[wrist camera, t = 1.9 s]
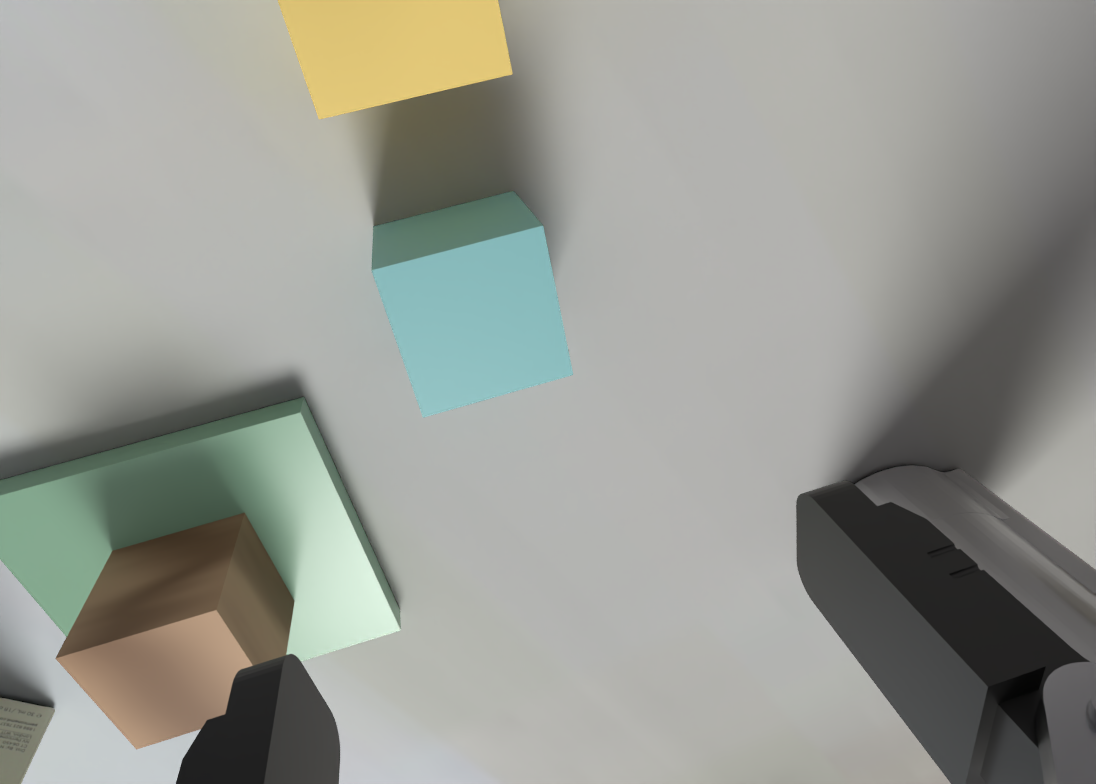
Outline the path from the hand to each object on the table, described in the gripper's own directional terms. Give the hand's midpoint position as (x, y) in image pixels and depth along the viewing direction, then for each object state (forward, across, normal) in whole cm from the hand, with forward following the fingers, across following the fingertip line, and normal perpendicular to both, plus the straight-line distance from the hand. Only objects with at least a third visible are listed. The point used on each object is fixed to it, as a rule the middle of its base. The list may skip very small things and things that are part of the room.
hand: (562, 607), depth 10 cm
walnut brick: (+15, +13, +9) cm, 22 cm away
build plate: (+16, +13, +9) cm, 22 cm away
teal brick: (+16, 0, 0) cm, 16 cm away
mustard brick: (+16, 0, -9) cm, 19 cm away
